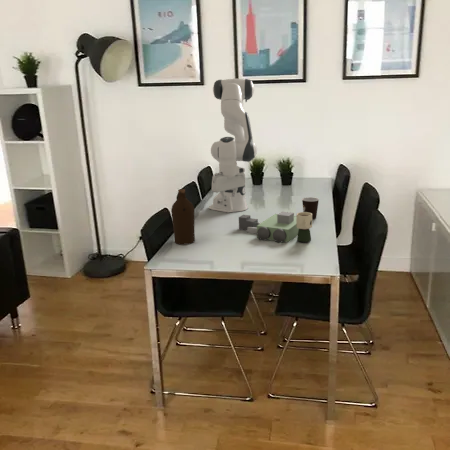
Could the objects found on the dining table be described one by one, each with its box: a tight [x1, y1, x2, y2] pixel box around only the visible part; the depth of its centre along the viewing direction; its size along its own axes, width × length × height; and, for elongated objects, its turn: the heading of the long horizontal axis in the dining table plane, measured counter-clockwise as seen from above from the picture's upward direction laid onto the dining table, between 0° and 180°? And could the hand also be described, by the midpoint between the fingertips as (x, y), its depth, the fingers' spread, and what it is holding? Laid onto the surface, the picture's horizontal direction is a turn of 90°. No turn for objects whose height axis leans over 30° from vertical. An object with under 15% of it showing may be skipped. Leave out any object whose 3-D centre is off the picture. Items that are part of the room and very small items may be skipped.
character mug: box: [295, 211, 313, 243], centre depth 234 cm, size 11×7×13 cm, turn 179°
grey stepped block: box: [238, 214, 259, 231], centre depth 256 cm, size 8×5×6 cm, turn 61°
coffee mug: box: [301, 196, 320, 220], centre depth 272 cm, size 12×9×10 cm
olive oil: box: [170, 188, 196, 246], centre depth 238 cm, size 11×11×25 cm
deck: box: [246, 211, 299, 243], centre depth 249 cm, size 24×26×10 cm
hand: (229, 197), depth 257 cm, fingers open, 5 cm apart
